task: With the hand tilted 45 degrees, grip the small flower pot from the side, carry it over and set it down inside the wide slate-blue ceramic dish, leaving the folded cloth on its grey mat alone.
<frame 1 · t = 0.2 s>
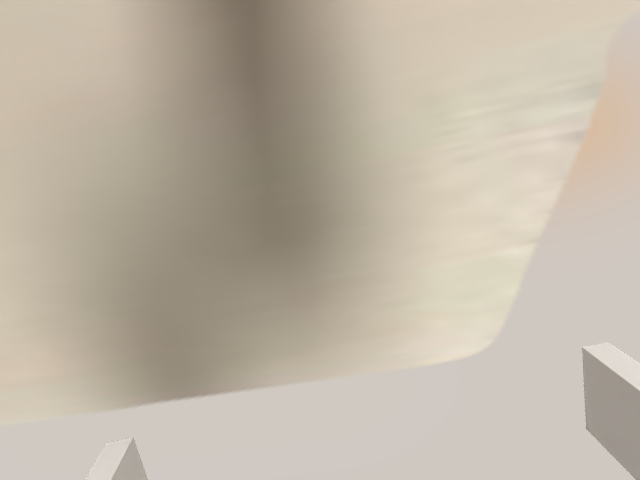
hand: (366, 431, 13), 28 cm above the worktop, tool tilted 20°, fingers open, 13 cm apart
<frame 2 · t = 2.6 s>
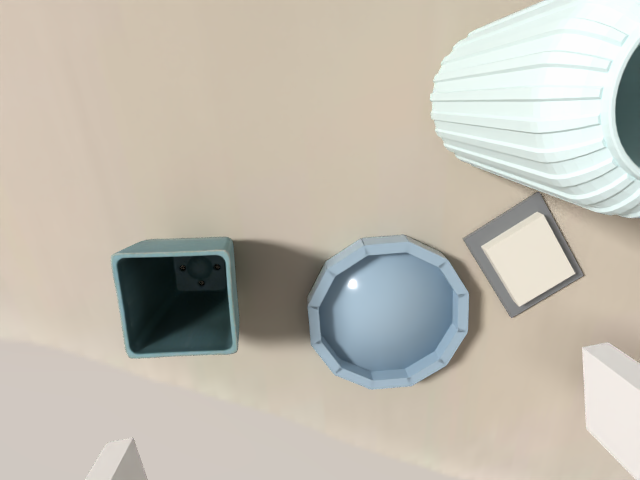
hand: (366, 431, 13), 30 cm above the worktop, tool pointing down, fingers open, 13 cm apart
dish: (385, 309, 45), on the worktop
vase: (486, 98, 39), on the worktop
flower pot: (201, 264, 43), on the worktop
mat with cloth: (523, 256, 44), on the worktop
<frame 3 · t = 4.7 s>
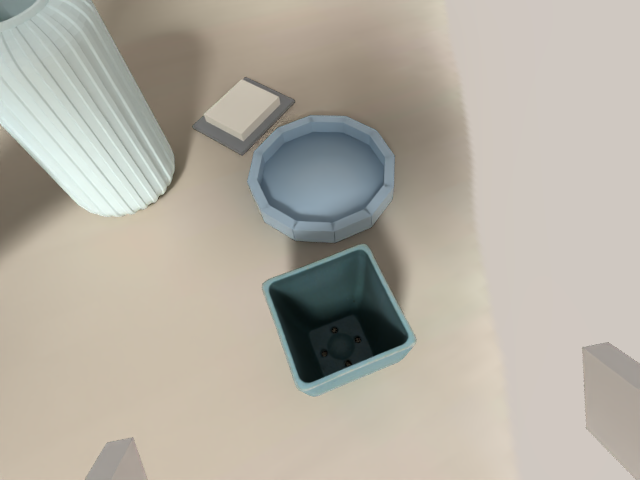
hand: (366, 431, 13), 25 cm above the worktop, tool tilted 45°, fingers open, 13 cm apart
dish: (322, 181, 49), on the worktop
vase: (133, 185, 51), on the worktop
flower pot: (340, 347, 40), on the worktop
mat with cloth: (244, 115, 55), on the worktop
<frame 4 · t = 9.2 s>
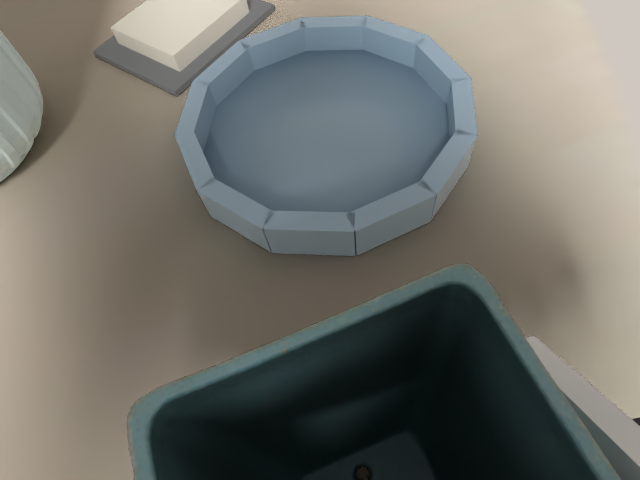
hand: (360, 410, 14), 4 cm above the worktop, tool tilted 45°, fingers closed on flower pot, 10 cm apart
dish: (326, 135, 25), on the worktop
mat with cloth: (186, 33, 31), on the worktop
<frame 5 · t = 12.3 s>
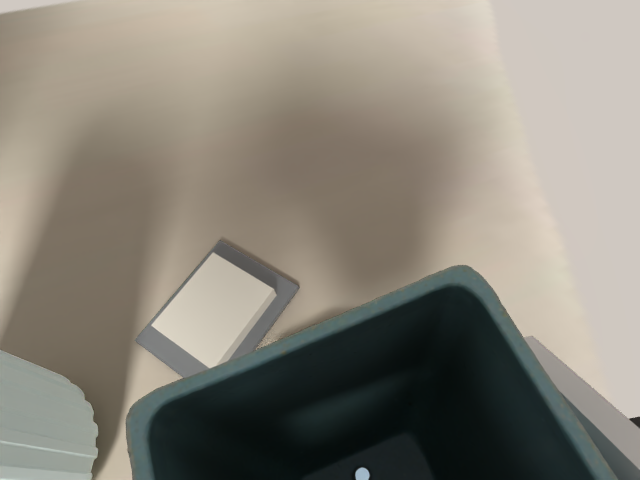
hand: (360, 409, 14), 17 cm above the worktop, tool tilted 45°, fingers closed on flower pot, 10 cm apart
vase: (33, 466, 30), on the worktop
mat with cloth: (219, 314, 34), on the worktop
when the fingers open (6 cm above the worktop, at t = 15.1 s): flower pot drops 2 cm, resting on dish.
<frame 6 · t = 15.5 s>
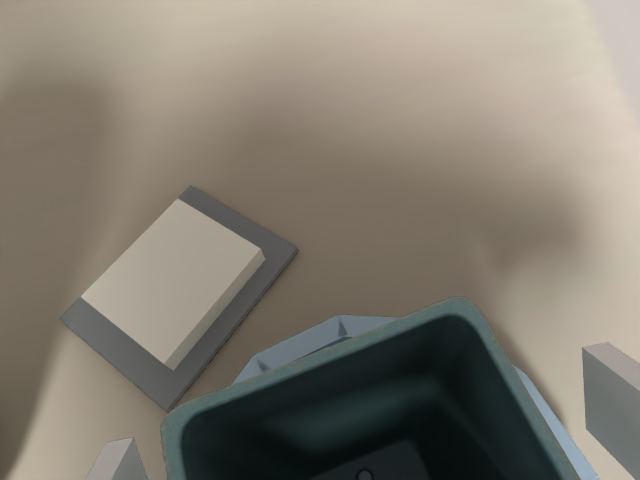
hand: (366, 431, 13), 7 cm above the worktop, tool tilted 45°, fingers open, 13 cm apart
mat with cloth: (182, 285, 24), on the worktop
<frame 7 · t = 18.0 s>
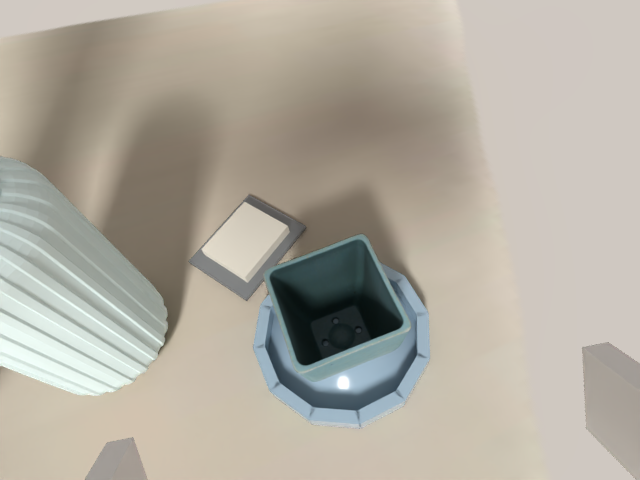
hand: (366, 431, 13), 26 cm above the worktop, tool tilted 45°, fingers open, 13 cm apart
dish: (342, 338, 41), on the worktop
vase: (120, 341, 44), on the worktop
flower pot: (341, 337, 41), resting on dish
mat with cloth: (248, 245, 48), on the worktop
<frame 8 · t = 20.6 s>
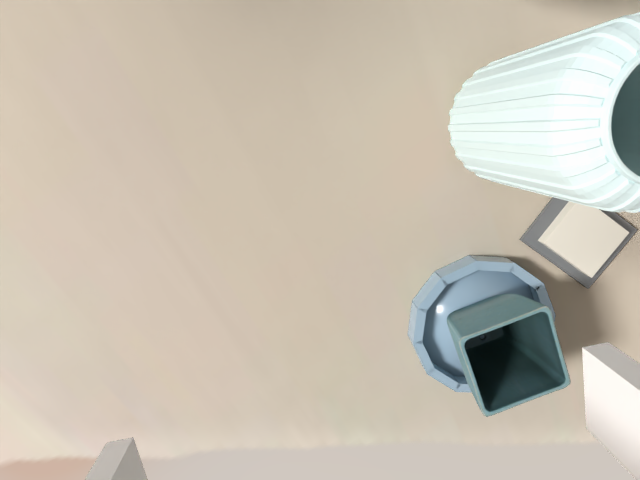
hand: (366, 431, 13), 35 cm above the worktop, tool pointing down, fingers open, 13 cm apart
dish: (476, 321, 51), on the worktop
vase: (495, 122, 46), on the worktop
flower pot: (477, 322, 50), resting on dish
mat with cloth: (577, 234, 49), on the worktop
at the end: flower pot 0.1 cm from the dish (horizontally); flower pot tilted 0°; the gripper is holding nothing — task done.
